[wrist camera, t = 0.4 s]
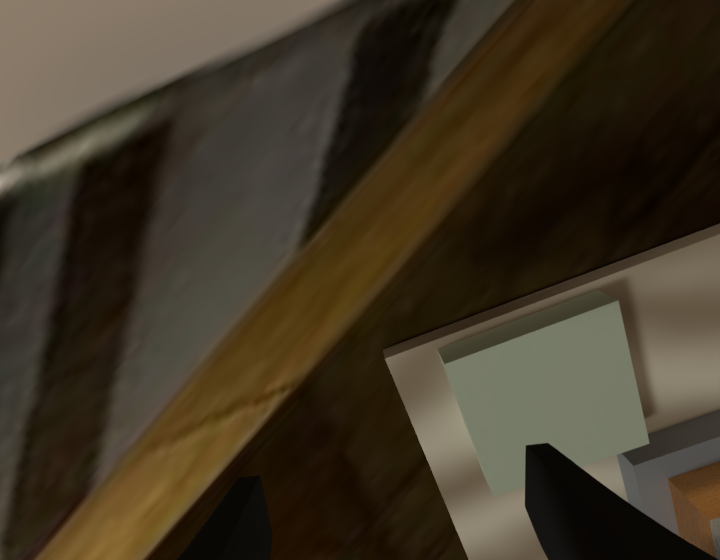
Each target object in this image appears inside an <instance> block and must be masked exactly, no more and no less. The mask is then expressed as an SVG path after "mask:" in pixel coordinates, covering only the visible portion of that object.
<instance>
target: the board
mask: <svg viewBox="0 0 720 560" xmlns="http://www.w3.org/2000/svg"><path fill="white" fill-rule="evenodd" d="M596 290H600V291H602V292H604V293H605V294H607V295H609V296H611V297H613V298H615V299H617V300H618V301H619V305H620V310H621V314H622V319H623V324H624V328H625V333H626V337H627V342H628V347H629V351H630V356H631V360H632V365H633V369H634V374H635V379H636V383H637V388H638V392H639V397H640V402H641V406H642V411H643V415H644V420H645V425H646V429H647V434H650V433H653V432H656V431H659V430H662V429H665V428H668V427H671V426H674V425H676V424H679V423H682V422H685V421H688V420H691V419H694V418H697V417H700V416H703V415H706V414H708V413H711V412H714V411H717V410H720V224H717V225H715V226H712V227H709V228H707V229H704V230H701V231H698V232H696V233H693V234H690V235H688V236H685V237H682V238H680V239H677V240H674V241H672V242H669V243H666V244H664V245H661V246H658V247H656V248H653V249H650V250H648V251H645V252H642V253H640V254H637V255H634V256H632V257H629V258H626V259H624V260H621V261H618V262H616V263H613V264H610V265H608V266H605V267H602V268H600V269H597V270H594V271H592V272H589V273H586V274H584V275H581V276H578V277H576V278H573V279H570V280H567V281H565V282H562V283H559V284H557V285H554V286H551V287H549V288H546V289H543V290H541V291H538V292H535V293H533V294H530V295H527V296H525V297H522V298H519V299H517V300H514V301H511V302H509V303H506V304H503V305H501V306H498V307H495V308H493V309H490V310H487V311H485V312H482V313H479V314H477V315H474V316H471V317H469V318H466V319H463V320H461V321H458V322H455V323H453V324H450V325H447V326H445V327H442V328H439V329H437V330H434V331H431V332H428V333H426V334H423V335H420V336H418V337H415V338H412V339H410V340H407V341H404V342H402V343H399V344H396V345H394V346H391V347H388V348H386V349H383V351H384V356H385V360H386V362H387V365H388V367H389V369H390V372H391V374H392V377H393V379H394V381H395V384H396V386H397V389H398V391H399V393H400V396H401V398H402V401H403V403H404V405H405V408H406V410H407V413H408V415H409V417H410V420H411V422H412V425H413V427H414V429H415V432H416V434H417V437H418V439H419V441H420V444H421V446H422V449H423V451H424V453H425V456H426V458H427V461H428V463H429V465H430V468H431V470H432V473H433V475H434V477H435V480H436V482H437V485H438V487H439V489H440V492H441V494H442V497H443V499H444V501H445V504H446V506H447V509H448V511H449V513H450V516H451V518H452V521H453V523H454V525H455V528H456V530H457V533H458V535H459V537H460V540H461V542H462V545H463V547H464V549H465V552H466V554H467V557H468V559H469V560H548V558H547V556H546V555H545V553H544V551H543V549H542V547H541V545H540V542H539V540H538V538H537V535H536V533H535V531H534V528H533V526H532V523H531V521H530V518H529V516H528V513H527V511H526V508H525V486H524V487H521V488H518V489H515V490H512V491H509V492H506V493H504V494H501V495H498V496H495V497H493V494H492V492H491V490H490V488H489V485H488V483H487V481H486V479H485V476H484V474H483V471H482V469H481V466H480V463H479V460H478V458H477V455H476V452H475V450H474V447H473V444H472V442H471V439H470V436H469V434H468V431H467V428H466V425H465V423H464V420H463V417H462V415H461V412H460V409H459V407H458V404H457V401H456V399H455V396H454V393H453V391H452V388H451V385H450V382H449V380H448V377H447V374H446V372H445V369H444V366H443V364H442V361H441V358H440V356H439V353H438V350H437V349H439V348H442V347H445V346H448V345H450V344H453V343H456V342H458V341H461V340H464V339H466V338H469V337H472V336H475V335H477V334H480V333H483V332H485V331H488V330H491V329H493V328H496V327H499V326H501V325H504V324H507V323H510V322H512V321H515V320H518V319H520V318H523V317H526V316H528V315H531V314H534V313H537V312H539V311H542V310H545V309H547V308H550V307H553V306H555V305H558V304H561V303H564V302H566V301H569V300H572V299H574V298H577V297H580V296H582V295H585V294H588V293H591V292H593V291H596ZM581 468H582V469H583V470H584V471H586V472H587V473H588V474H590V475H591V476H592V477H594V478H595V479H596V480H598V481H599V482H600V483H602V484H603V485H604V486H606V487H607V488H609V489H610V490H611V491H613V492H614V493H615V494H617V495H618V496H620V497H621V498H622V499H624V500H625V501H627V502H628V498H627V494H626V490H625V486H624V482H623V478H622V474H621V470H620V466H619V462H618V458H617V455H615V456H612V457H609V458H606V459H603V460H600V461H597V462H594V463H591V464H588V465H585V466H582V467H581ZM628 503H629V502H628Z"/></svg>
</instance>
